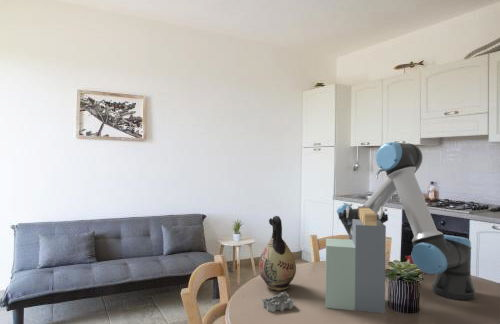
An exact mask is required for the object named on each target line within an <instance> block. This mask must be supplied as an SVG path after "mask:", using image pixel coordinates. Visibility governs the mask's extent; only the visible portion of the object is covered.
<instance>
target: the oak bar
mask: <svg viewBox="0 0 500 324" xmlns="http://www.w3.org/2000/svg"><path fill="white" fill-rule="evenodd" d="M362 206H363V205H361V206H358V207H357V209H358V217H359V218H360V219H361V221H362V222H363V224H364V225H369V226H377V214H378V213H377V214H376V213H375V212H374V211H372V210H371V209H370V208H369V207H362Z"/></svg>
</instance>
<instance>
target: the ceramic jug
mask: <svg viewBox="0 0 500 324" xmlns="http://www.w3.org/2000/svg"><path fill="white" fill-rule="evenodd" d="M268 222H269V223H268V224H269V225H270V226H272V234H271V237H270V239H269V241H268V242H267V244H266V245H265V247H264V249H263V251H262V253H261V255H260V257H259V263H258V271H259V274H260V275H259V276H260V277H261V279H262V280H263V281H264V282H265V284H266V286H267V288H268V289H270V290H274V291H283V290H287V289H289V288H290V284H291V283H292V281H293V280H294V278H295V276H296V273H297V266H296V261H295V260H296V259H295V257H294V255H293V253H292V250H291V249H290V248H289V246H288V245H287V243H286V242H285V240H284V239H283V226H282V225H283V224H282V219H281V217H280V216H278V215H274V216H273V217H272V218H271V217H270V218H269V219H268Z"/></svg>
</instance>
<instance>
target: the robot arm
mask: <svg viewBox="0 0 500 324" xmlns="http://www.w3.org/2000/svg"><path fill="white" fill-rule="evenodd" d="M375 162H376V165H377V167H378V168H380V169H381V170H383V171H385V174H386V176H385V177H384V179H383V180H382V182H381V183H380V184H379V185H378V186H377V187H376V189H375V190H374V192H373V193H372V194H371V196H369V198H368V199H367V200H366V202H365V203H364V204H363V205H361V206H362V207H369V208H370V209H371V210H372V211H374V212H375V213H376V214H377V220H380V221H381V222H382V223H383V224H384V223H386V222H388V221H389V215H388V213H386V214H385V211H384V206H385V205H386V204H387V203H388V202H389V200H390V199H391V198H392V197H393V196H394V195H395V194H396V192H397V194H398V196H399V200H400V202H401V205H402V208H403V210H404V213H405V216H406V218H407V220H408V223H409V226H410V228H411V231H412V234H413V238H412V239H411V243H412V251H411V254H410V256H412V260H413V262H414V264H416V265H417V266H418V269H420V270H419V271H420V272H423V273H425V274H428V275H435V277H434V280H433V283H432V289H431V290H432V291H433V292H434V293H435V294H436V295H438V296H441V297H444V298H447V299H452V300H458V299H463V300H462V301H465V300H464V299H471V300H474V299H476V298H475V297H476V294H477V292H476V288H475V285H474V283H473V280H472V275H471V271H472V270H471V262H472V261H471V260H472V245H471V240H470V239H469V238H466V237H462V236H458V235H457V236H455V235H449V234H444V233H443V232H442V231H440V230H438V229H437V227H436V225H435V222H434V219H433V217H432V213H431V212H430V210H429V208H428V204H427V202H426V200H425V198H424V195H423V193H422V190H421V187H420V184H419V183H418V179H417V178H416V175H415V174H416V173H417V171H418V170H419V168H420V167H421V166H422V163H423V152H422V150H421V149H420V147H418V146H417V145H415V144H412V143H407V142H396V141H391V142H385V143H383V144H382V145H381V146H380V147H379V148H378V149H377V153H376V155H375ZM336 213H337V216H338V220H340V222H341V224H342V225H343V227H344V229H345V232H346V233H347V235H348V239H349V240H352V219H360V218H359V217H358V208H353V207H352V206H351V205H350V204H348V203H346V204H345V203H344V204H343V205H341V206H339V207H338V208H337V209H336ZM473 298H474V299H473Z"/></svg>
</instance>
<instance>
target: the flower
mask: <svg viewBox="0 0 500 324" xmlns="http://www.w3.org/2000/svg"><path fill="white" fill-rule="evenodd" d="M405 258H406V262H410V263H414V262H413V260H412V256H411V254H408V255H405Z"/></svg>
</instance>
